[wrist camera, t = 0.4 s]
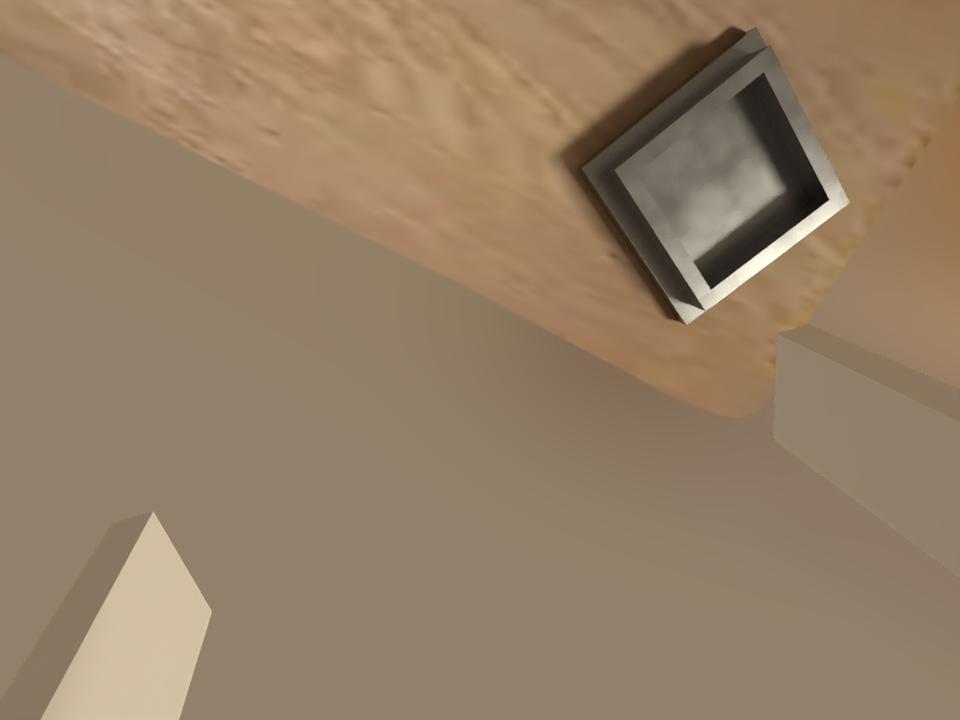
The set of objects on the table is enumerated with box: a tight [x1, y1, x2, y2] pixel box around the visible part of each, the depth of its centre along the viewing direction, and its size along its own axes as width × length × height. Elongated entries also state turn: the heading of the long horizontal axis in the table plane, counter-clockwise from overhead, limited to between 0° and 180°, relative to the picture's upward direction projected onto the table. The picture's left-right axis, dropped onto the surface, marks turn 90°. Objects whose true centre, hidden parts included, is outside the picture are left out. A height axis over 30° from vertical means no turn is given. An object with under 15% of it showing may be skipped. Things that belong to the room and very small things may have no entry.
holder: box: [578, 27, 850, 325], centre depth 35 cm, size 13×13×3 cm
